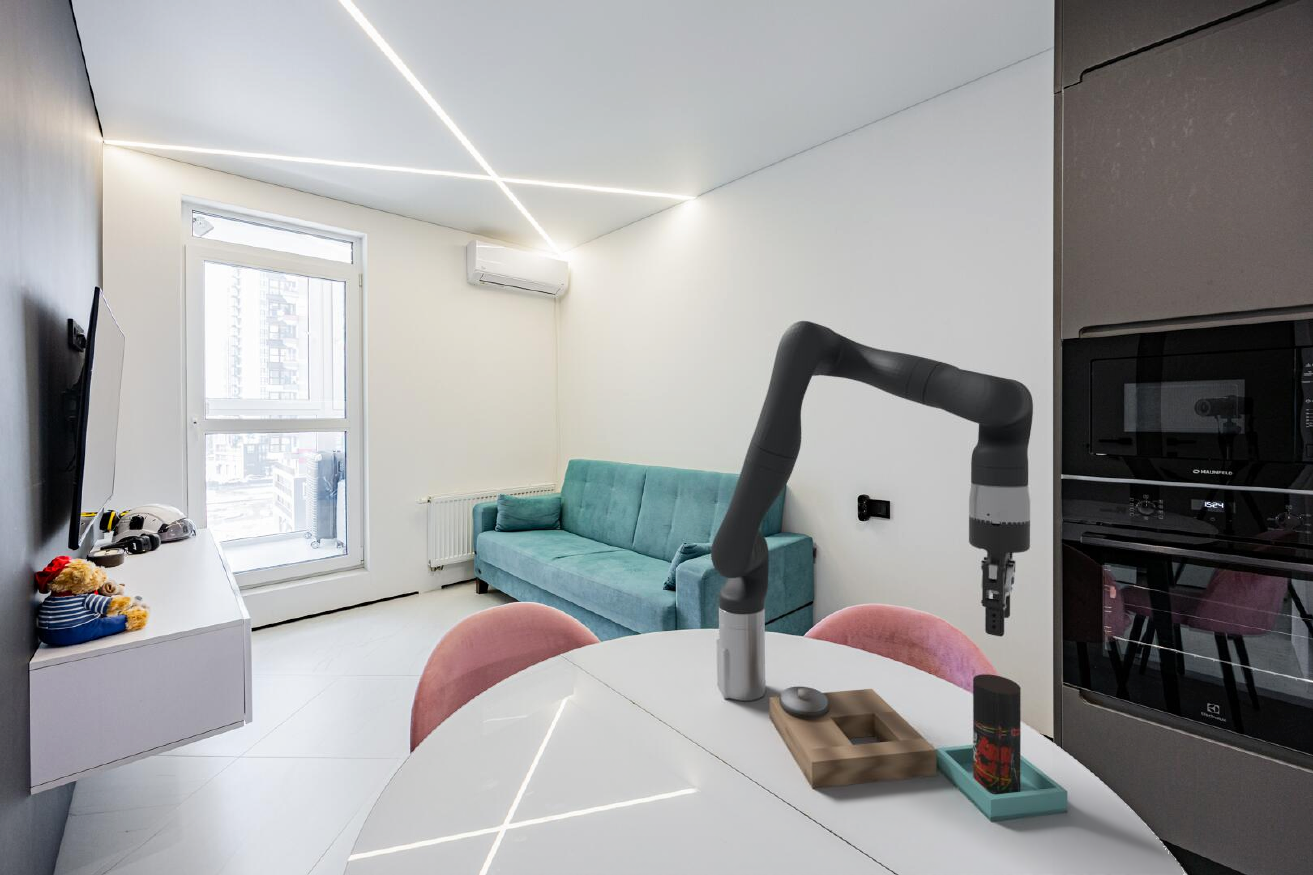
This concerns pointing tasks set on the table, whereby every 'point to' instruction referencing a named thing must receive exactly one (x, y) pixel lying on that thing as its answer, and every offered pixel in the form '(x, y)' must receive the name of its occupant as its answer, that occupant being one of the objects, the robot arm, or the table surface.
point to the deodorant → (996, 733)
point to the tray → (1032, 799)
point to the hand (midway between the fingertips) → (998, 625)
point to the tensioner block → (831, 718)
